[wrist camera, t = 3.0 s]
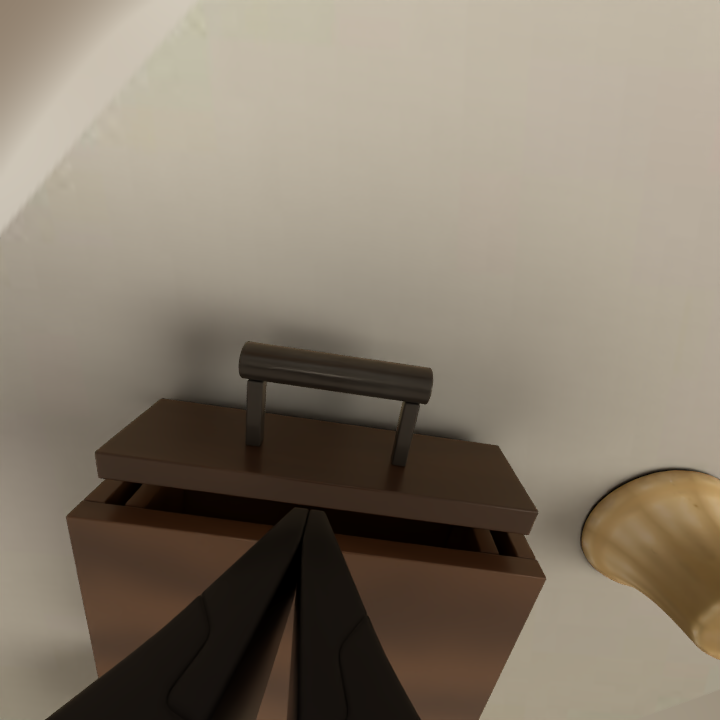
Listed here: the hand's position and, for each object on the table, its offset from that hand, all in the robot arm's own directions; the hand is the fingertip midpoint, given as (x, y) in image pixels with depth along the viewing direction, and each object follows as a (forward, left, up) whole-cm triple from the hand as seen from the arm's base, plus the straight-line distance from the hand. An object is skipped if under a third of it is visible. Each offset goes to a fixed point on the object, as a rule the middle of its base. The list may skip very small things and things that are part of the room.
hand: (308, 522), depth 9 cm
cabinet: (+6, -10, -8) cm, 15 cm away
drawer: (+4, -6, -7) cm, 10 cm away
